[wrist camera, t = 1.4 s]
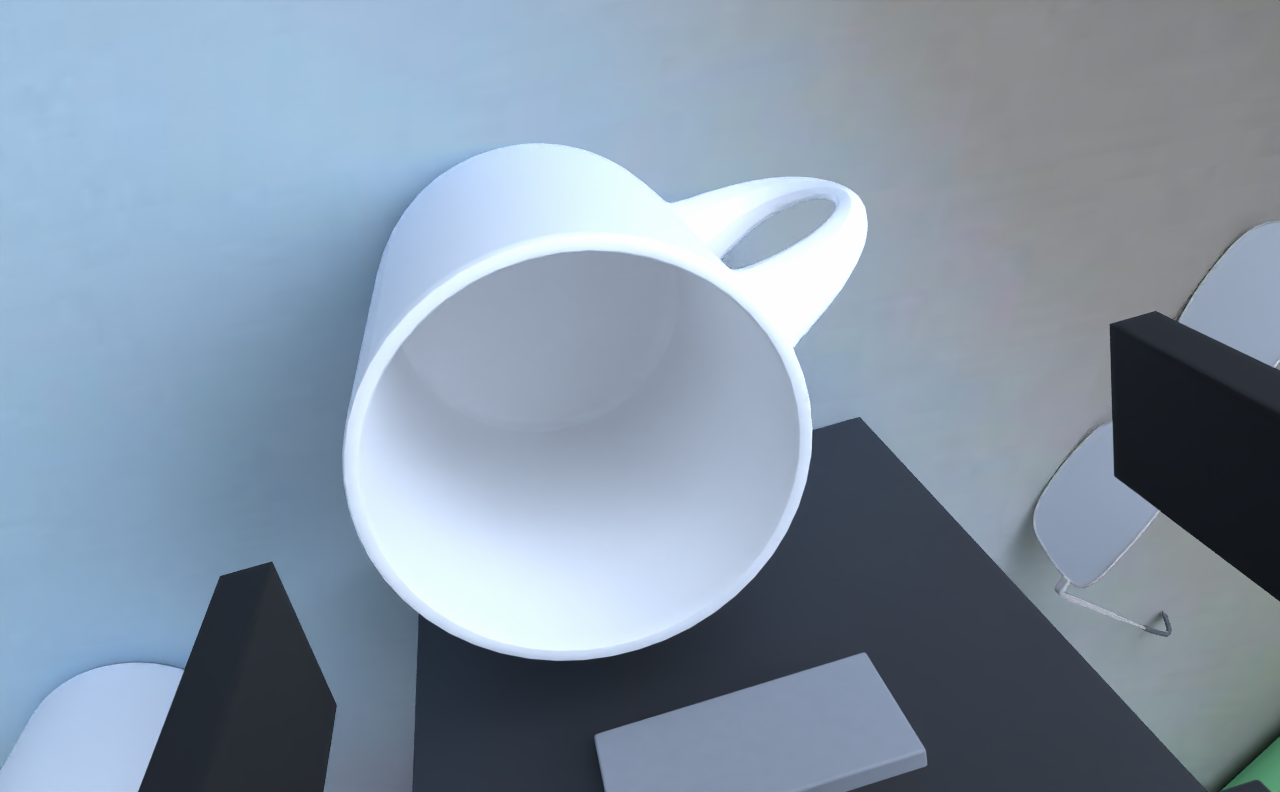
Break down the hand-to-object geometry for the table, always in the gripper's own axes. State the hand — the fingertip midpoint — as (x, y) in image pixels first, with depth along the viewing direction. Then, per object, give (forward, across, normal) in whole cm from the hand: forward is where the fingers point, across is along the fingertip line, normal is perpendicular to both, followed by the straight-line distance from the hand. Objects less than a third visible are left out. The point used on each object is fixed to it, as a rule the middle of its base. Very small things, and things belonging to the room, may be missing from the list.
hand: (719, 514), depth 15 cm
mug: (+14, 0, 0) cm, 14 cm away
